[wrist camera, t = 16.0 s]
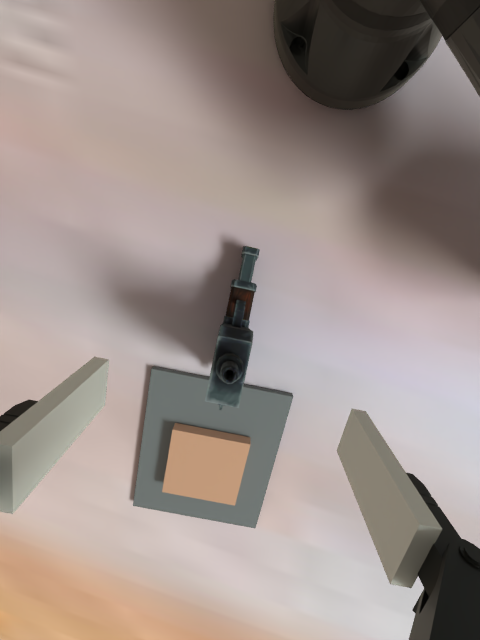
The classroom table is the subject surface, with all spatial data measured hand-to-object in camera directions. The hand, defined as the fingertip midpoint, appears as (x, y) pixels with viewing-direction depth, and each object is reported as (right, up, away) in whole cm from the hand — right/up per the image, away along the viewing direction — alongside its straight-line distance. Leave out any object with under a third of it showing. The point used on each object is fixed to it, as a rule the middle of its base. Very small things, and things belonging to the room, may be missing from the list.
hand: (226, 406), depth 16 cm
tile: (-3, -10, +22) cm, 25 cm away
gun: (0, +6, +20) cm, 21 cm away
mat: (-4, -13, +25) cm, 29 cm away
